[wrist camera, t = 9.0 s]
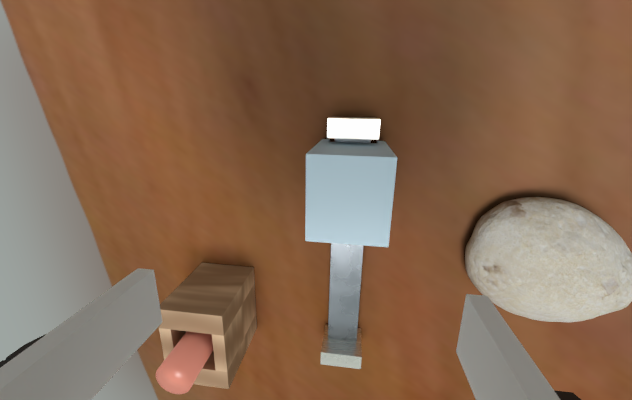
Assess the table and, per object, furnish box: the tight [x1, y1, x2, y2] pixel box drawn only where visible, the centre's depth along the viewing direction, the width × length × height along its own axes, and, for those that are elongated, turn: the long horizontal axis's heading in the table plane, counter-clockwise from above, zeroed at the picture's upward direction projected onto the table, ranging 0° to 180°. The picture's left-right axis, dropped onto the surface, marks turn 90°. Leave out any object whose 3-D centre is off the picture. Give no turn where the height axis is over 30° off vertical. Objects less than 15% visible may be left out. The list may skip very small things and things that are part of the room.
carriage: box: [305, 139, 397, 247], centre depth 23 cm, size 6×6×9 cm
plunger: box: [156, 331, 213, 394], centre depth 27 cm, size 3×3×8 cm
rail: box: [321, 117, 381, 369], centre depth 28 cm, size 24×4×4 cm, turn 179°
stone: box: [465, 197, 632, 322], centre depth 26 cm, size 13×10×8 cm
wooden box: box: [159, 263, 257, 389], centre depth 30 cm, size 8×6×8 cm
